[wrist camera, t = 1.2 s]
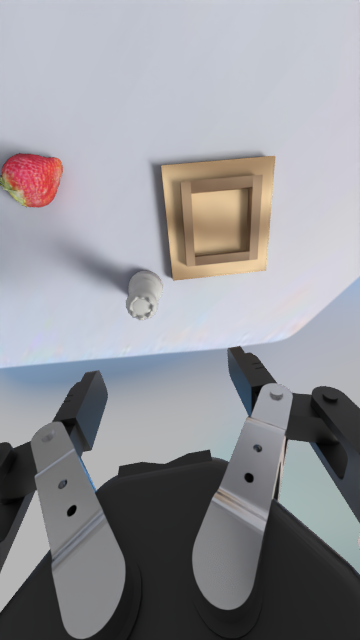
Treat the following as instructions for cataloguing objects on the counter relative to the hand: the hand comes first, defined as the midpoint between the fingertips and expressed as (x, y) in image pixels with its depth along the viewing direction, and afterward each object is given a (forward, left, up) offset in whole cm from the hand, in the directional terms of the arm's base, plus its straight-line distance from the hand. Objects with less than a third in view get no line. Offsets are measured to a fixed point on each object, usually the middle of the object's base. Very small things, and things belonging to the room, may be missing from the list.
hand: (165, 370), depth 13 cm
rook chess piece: (-1, -2, -17) cm, 17 cm away
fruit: (-13, -11, -17) cm, 24 cm away
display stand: (-8, +8, -17) cm, 20 cm away
